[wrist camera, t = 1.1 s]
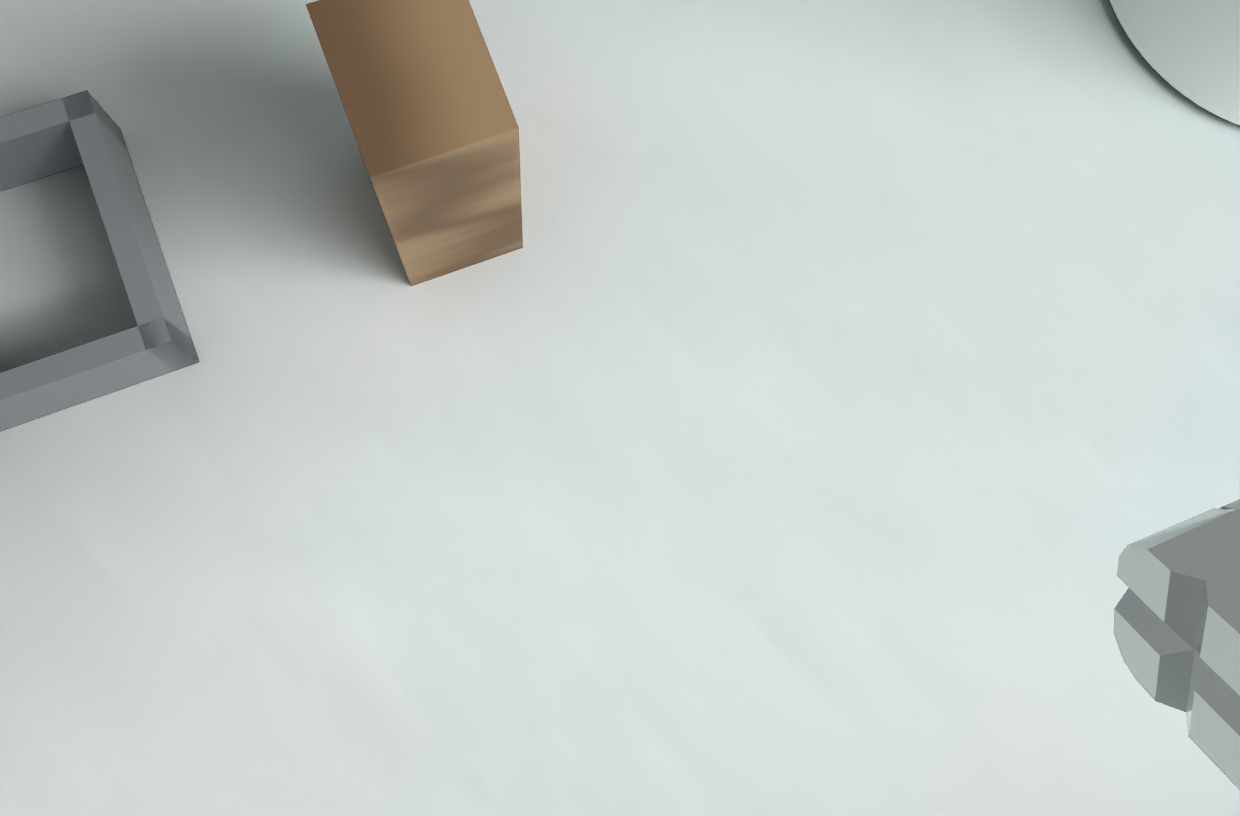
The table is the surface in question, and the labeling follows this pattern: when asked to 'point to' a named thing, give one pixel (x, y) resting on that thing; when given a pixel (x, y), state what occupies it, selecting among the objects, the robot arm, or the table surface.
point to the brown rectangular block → (428, 127)
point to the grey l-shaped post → (162, 337)
